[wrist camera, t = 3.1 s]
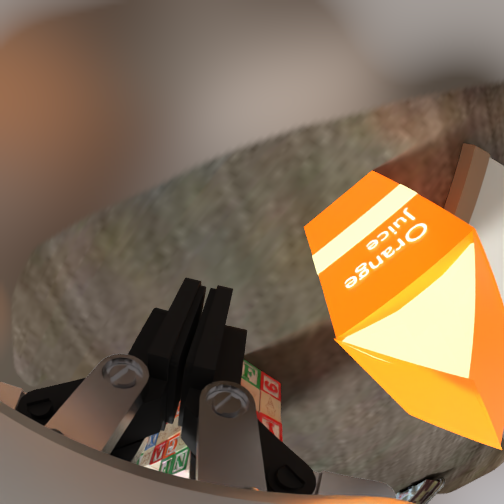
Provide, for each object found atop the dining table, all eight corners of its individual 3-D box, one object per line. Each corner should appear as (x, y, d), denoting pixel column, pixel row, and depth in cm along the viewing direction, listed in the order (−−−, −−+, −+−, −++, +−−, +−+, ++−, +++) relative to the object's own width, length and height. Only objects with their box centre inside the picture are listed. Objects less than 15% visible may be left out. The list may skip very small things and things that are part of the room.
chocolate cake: (428, 473, 44) (398, 519, 39) (448, 478, 43) (420, 523, 39) (406, 464, 52) (380, 505, 48) (426, 470, 51) (400, 511, 47)
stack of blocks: (179, 442, 40) (163, 509, 29) (144, 423, 39) (121, 491, 27) (282, 381, 33) (283, 476, 22) (240, 354, 32) (227, 453, 20)
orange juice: (372, 168, 24) (564, 288, 5) (423, 244, 26) (561, 401, 7) (301, 228, 26) (354, 449, 8) (359, 295, 28) (434, 491, 10)
